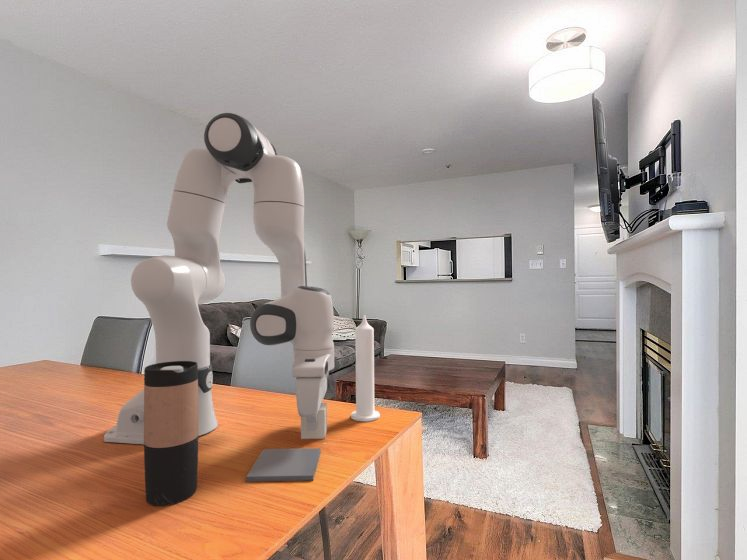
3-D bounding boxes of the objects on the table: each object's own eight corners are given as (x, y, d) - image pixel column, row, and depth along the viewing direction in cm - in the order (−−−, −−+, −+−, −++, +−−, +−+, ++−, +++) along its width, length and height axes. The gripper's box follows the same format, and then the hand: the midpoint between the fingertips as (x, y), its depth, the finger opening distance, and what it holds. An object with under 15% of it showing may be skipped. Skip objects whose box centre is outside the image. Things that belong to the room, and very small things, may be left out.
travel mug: (157, 482, 66) (157, 361, 66) (205, 480, 66) (205, 360, 66) (133, 508, 58) (133, 371, 58) (188, 505, 59) (187, 369, 59)
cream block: (300, 439, 84) (300, 410, 84) (304, 430, 89) (304, 403, 89) (324, 438, 84) (324, 410, 84) (327, 430, 89) (326, 403, 89)
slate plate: (246, 481, 66) (246, 476, 66) (263, 453, 77) (263, 449, 77) (313, 480, 66) (313, 475, 66) (320, 452, 77) (320, 448, 77)
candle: (376, 422, 93) (375, 316, 94) (347, 420, 95) (346, 315, 95) (382, 413, 100) (381, 313, 101) (354, 411, 102) (354, 313, 102)
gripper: (306, 352, 97) (307, 409, 97) (290, 370, 76) (291, 442, 76) (332, 352, 97) (333, 409, 97) (323, 370, 77) (323, 442, 76)
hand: (314, 424), depth 86 cm, fingers closed on cream block, 5 cm apart
